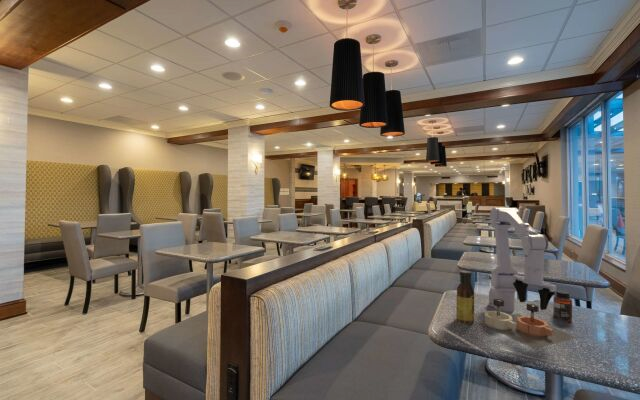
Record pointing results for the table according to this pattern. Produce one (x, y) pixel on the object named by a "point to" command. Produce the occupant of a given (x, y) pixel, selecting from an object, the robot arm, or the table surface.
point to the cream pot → (499, 320)
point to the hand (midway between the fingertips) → (532, 305)
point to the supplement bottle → (562, 306)
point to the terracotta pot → (533, 327)
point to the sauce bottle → (465, 299)
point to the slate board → (533, 340)
